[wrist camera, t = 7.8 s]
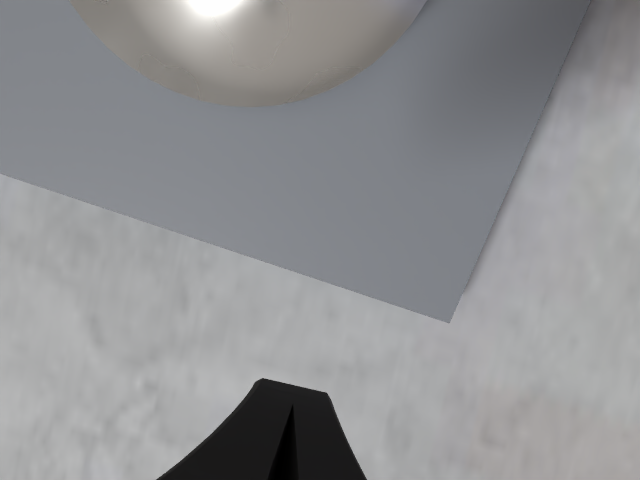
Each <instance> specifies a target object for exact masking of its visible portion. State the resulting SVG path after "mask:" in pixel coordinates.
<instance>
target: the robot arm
mask: <svg viewBox="0 0 640 480" xmlns="http://www.w3.org/2000/svg"><path fill="white" fill-rule="evenodd" d="M157 480H367V479H366V477H365V475H364V473H363V471H362V469H361V467H360V465H359V464H358V462H357V460H356V458H355V456H354V454H353V452H352V450H351V447H350V445H349V443H348V441H347V439H346V436H345V434H344V432H343V430H342V427H341V425H340V422H339V420H338V418H337V415H336V412H335V410H334V407H333V404H332V401H331V399H330V397H329V396H328V394H327V393H325V392H321V391H316V390H312V389H308V388H303V387H299V386H295V385H290V384H286V383H282V382H277V381H273V380H268V379H264V378H262V379H260V380H258V381H256V382H255V383H254V385H253V387H252V389H251V390H250V391H249V393H248V394H247V396H246V397H245V398H244V399H243V401H242V402H241V403H240V404H239V405H238V406H237V408H236V409H235V410H234V411H233V412H232V413H231V414H230V415H229V416H228V417H227V418H226V419H225V420H224V421H223V423H222V424H221V425H220V426H219V427H218V428H217V429H216V430H215V431H214V432H213V433H212V434H211V435H210V436H209V437H207V438H206V439H205V440H204V441H203V442H202V443H201V444H200V445H198V446H197V447H196V448H195V449H194V450H193V451H192V452H190V453H189V454H188V455H187V456H186V457H185V458H184V459H182V460H181V461H180V462H179V463H177V464H176V465H175V466H174V467H172V468H171V469H170V470H169V471H167V472H166V473H165V474H163V475H162V476H161V477H159V478H158V479H157Z"/></svg>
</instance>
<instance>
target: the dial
mask: <svg viewBox="0 0 640 480" xmlns="http://www.w3.org/2000/svg"><path fill="white" fill-rule="evenodd" d="M69 1H70V3H71V4H72V6H73V7H74V8H75V10H76V11H77V12H78V14H79V15H80V16H81V18H82V19H83V20H84V22H85V23H86V25H87V26H88V27H89V28H90V29H91V30H92V31H93V33H94V34H95V35H96V36H97V37H98V38H99V39H100V40H101V41H102V42H103V43H104V44H105V45H106V47H107V48H109V49H110V50H111V51H112V52H113V53H114V54H116V55H117V56H118V57H119V58H120V59H122V60H123V61H124V62H125V63H126V64H127V65H129V66H130V67H132V68H133V69H135V70H136V71H138V72H139V73H141V74H142V75H144V76H145V77H147V78H148V79H150V80H152V81H153V82H156V83H158V84H160V85H162V86H164V87H166V88H168V89H170V90H172V91H174V92H176V93H179V94H182V95H185V96H188V97H191V98H194V99H197V100H200V101H205V102H210V103H215V104H220V105H225V106H239V107H262V106H275V105H281V104H286V103H291V102H295V101H300V100H304V99H307V98H310V97H312V96H315V95H318V94H321V93H324V92H326V91H329V90H331V89H333V88H335V87H337V86H339V85H341V84H342V83H344V82H346V81H348V80H350V79H352V78H353V77H354V76H356V75H357V74H359V73H360V72H362V71H363V70H364V69H366V68H367V67H369V66H370V65H372V64H373V63H374V62H375V61H376V60H377V59H378V58H380V57H381V56H382V55H383V54H384V53H385V52H386V51H387V50H388V49H389V48H390V47H392V46H393V45H394V44H395V43H396V41H397V40H398V39H399V38H400V37H401V35H402V34H403V33H404V32H405V31H406V30H407V28H408V27H409V26H410V25H411V24H412V22H413V21H414V20H415V18H416V16H417V15H418V13H419V12H420V10H421V9H422V7H423V6H424V4H425V3H426V1H427V0H69Z"/></svg>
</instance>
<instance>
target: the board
mask: <svg viewBox="0 0 640 480" xmlns="http://www.w3.org/2000/svg"><path fill="white" fill-rule="evenodd" d="M590 2H591V0H427V1H426V3H425V4H424V6H423V7H422V9H421V10H420V12H419V13H418V15H417V16H416V18H415V20H414V21H413V22H412V24H411V25H410V26H409V27H408V28H407V30H406V31H405V32H404V33H403V34H402V35H401V37H400V38H399V39H398V40H397V41H396V43H395V44H394V45H393V46H392V47H390V48H389V49H388V50H387V51H386V52H385V53H384V54H383V55H382V56H381V57H380V58H378V59H377V60H376V61H375V62H374V63H373V64H372V65H370V66H369V67H367V68H366V69H364V70H363V71H362V72H360V73H359V74H357V75H356V76H354V77H353V78H352V79H350V80H348V81H346V82H344V83H342V84H341V85H339V86H337V87H335V88H333V89H331V90H329V91H326V92H324V93H321V94H318V95H315V96H312V97H310V98H307V99H304V100H300V101H295V102H291V103H286V104H281V105H275V106H262V107H239V106H225V105H220V104H215V103H210V102H205V101H200V100H197V99H194V98H191V97H188V96H185V95H182V94H179V93H176V92H174V91H172V90H170V89H168V88H166V87H164V86H162V85H160V84H158V83H156V82H153V81H152V80H150V79H148V78H147V77H145V76H144V75H142V74H141V73H139V72H138V71H136V70H135V69H133V68H132V67H130V66H129V65H127V64H126V63H125V62H124V61H123V60H122V59H120V58H119V57H118V56H117V55H116V54H114V53H113V52H112V51H111V50H110V49H109V48H107V47H106V45H105V44H104V43H103V42H102V41H101V40H100V39H99V38H98V37H97V36H96V35H95V34H94V33H93V31H92V30H91V29H90V28H89V27H88V26H87V25H86V23H85V22H84V20H83V19H82V18H81V16H80V15H79V14H78V12H77V11H76V10H75V8H74V7H73V6H72V4H71V3H70V1H69V0H0V174H3V175H6V176H9V177H12V178H15V179H18V180H21V181H24V182H27V183H30V184H33V185H36V186H39V187H42V188H45V189H48V190H51V191H54V192H57V193H60V194H63V195H66V196H69V197H72V198H75V199H78V200H81V201H84V202H87V203H90V204H93V205H96V206H99V207H102V208H105V209H108V210H111V211H114V212H117V213H120V214H123V215H126V216H129V217H132V218H135V219H138V220H141V221H144V222H147V223H150V224H153V225H156V226H159V227H162V228H165V229H168V230H171V231H174V232H177V233H180V234H183V235H186V236H189V237H192V238H195V239H198V240H201V241H204V242H207V243H210V244H213V245H216V246H219V247H222V248H225V249H228V250H231V251H234V252H237V253H240V254H243V255H246V256H249V257H252V258H255V259H258V260H261V261H264V262H267V263H270V264H273V265H276V266H279V267H282V268H285V269H288V270H291V271H294V272H297V273H300V274H303V275H306V276H309V277H312V278H315V279H318V280H321V281H324V282H327V283H330V284H333V285H336V286H339V287H342V288H345V289H348V290H351V291H354V292H357V293H360V294H363V295H366V296H369V297H372V298H375V299H378V300H381V301H384V302H387V303H390V304H393V305H396V306H399V307H402V308H405V309H408V310H411V311H414V312H417V313H420V314H423V315H426V316H429V317H432V318H435V319H438V320H441V321H444V322H447V323H450V321H451V319H452V316H453V314H454V312H455V310H456V307H457V305H458V303H459V300H460V298H461V296H462V294H463V291H464V289H465V287H466V284H467V282H468V280H469V278H470V275H471V273H472V271H473V268H474V266H475V264H476V262H477V259H478V257H479V255H480V253H481V250H482V248H483V246H484V243H485V241H486V239H487V237H488V234H489V232H490V230H491V227H492V225H493V223H494V221H495V218H496V216H497V214H498V211H499V209H500V207H501V205H502V202H503V200H504V198H505V196H506V193H507V191H508V189H509V186H510V184H511V182H512V180H513V177H514V175H515V173H516V170H517V168H518V166H519V164H520V161H521V159H522V157H523V154H524V152H525V150H526V148H527V145H528V143H529V141H530V139H531V136H532V134H533V132H534V129H535V127H536V125H537V123H538V120H539V118H540V116H541V113H542V111H543V109H544V107H545V104H546V102H547V100H548V97H549V95H550V93H551V91H552V88H553V86H554V84H555V82H556V79H557V77H558V75H559V72H560V70H561V68H562V66H563V63H564V61H565V59H566V56H567V54H568V52H569V50H570V47H571V45H572V43H573V40H574V38H575V36H576V34H577V31H578V29H579V27H580V25H581V22H582V20H583V18H584V15H585V13H586V11H587V9H588V6H589V4H590Z"/></svg>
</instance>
